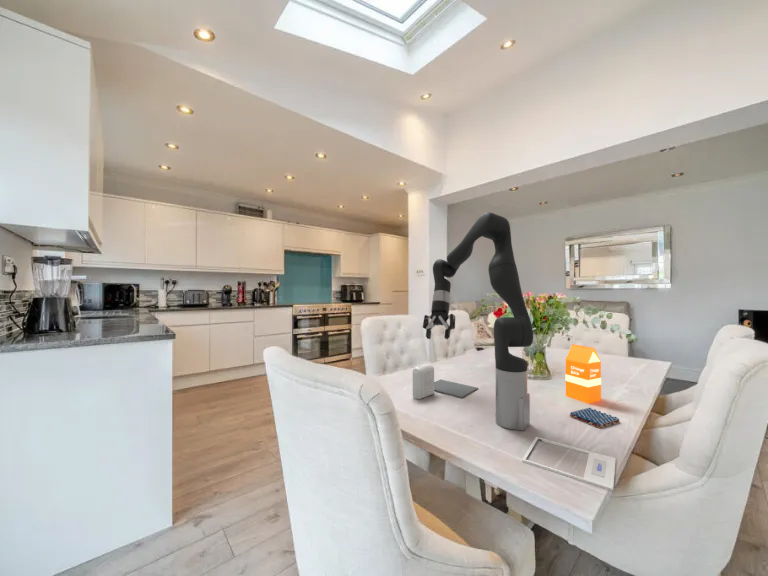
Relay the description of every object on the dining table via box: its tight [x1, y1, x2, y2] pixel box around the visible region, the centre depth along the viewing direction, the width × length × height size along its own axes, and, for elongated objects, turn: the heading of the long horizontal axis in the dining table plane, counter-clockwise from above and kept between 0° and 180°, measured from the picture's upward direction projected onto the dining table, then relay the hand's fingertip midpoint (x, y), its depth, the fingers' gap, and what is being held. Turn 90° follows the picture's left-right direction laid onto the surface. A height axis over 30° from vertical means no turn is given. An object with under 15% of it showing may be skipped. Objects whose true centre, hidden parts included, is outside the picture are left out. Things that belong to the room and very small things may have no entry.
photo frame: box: [521, 436, 617, 492], centre depth 76 cm, size 15×1×18 cm
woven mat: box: [569, 407, 621, 430], centre depth 100 cm, size 10×11×2 cm
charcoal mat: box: [434, 379, 479, 399], centre depth 130 cm, size 18×14×1 cm
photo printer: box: [412, 363, 435, 400], centre depth 123 cm, size 10×4×12 cm, turn 134°
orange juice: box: [564, 344, 602, 404], centre depth 118 cm, size 8×9×20 cm
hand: (437, 338), depth 131 cm, fingers open, 8 cm apart
